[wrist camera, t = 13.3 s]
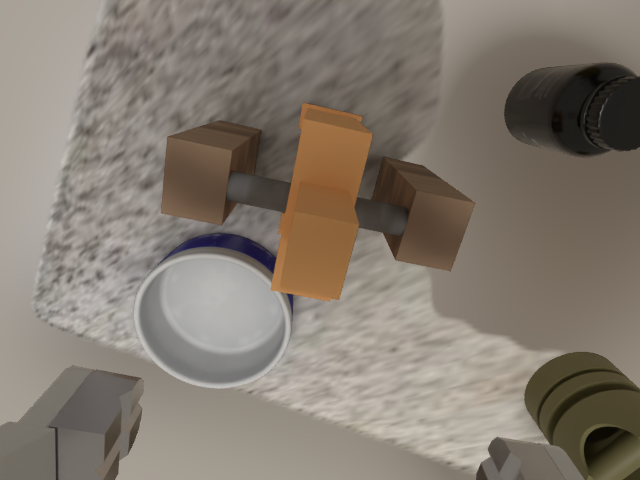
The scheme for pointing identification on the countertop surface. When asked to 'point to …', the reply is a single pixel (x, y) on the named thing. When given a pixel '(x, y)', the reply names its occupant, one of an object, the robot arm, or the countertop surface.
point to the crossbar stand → (243, 187)
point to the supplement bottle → (577, 109)
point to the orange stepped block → (321, 204)
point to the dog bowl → (214, 312)
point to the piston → (588, 414)
